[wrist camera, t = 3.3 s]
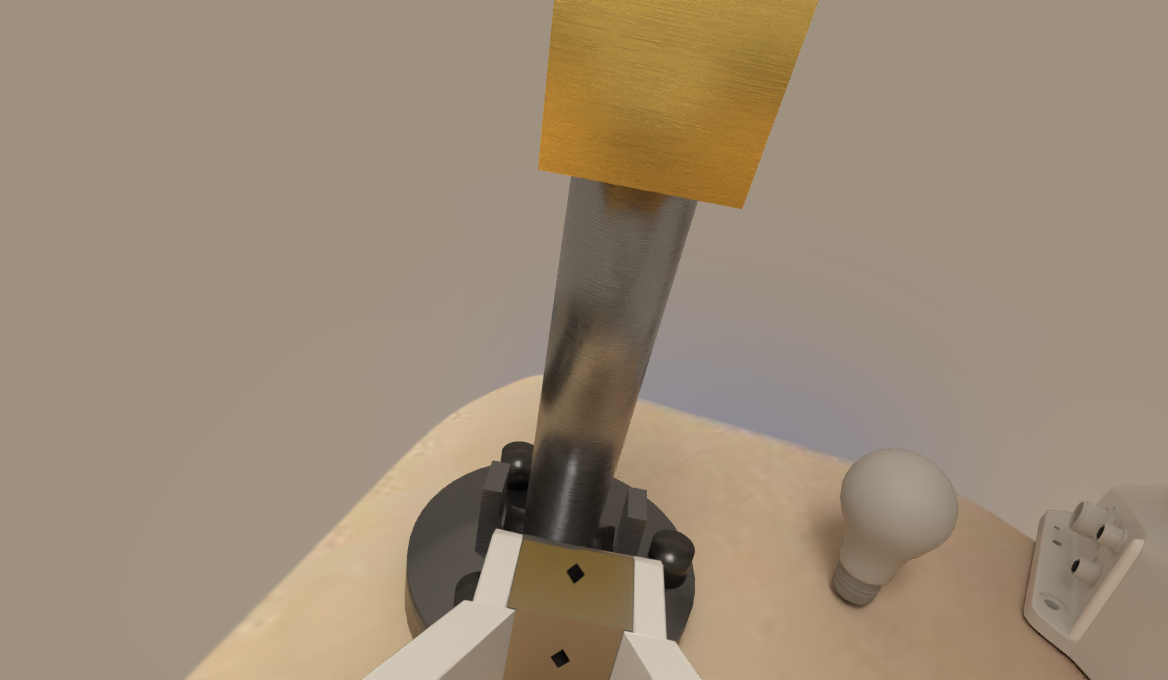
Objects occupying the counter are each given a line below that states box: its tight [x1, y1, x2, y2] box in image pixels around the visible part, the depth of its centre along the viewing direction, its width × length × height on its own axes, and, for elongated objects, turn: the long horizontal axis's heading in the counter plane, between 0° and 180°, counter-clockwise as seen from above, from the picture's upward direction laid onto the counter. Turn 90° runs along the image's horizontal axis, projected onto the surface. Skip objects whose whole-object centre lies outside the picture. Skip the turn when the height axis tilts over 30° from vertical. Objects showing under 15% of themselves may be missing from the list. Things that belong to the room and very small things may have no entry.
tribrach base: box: [405, 442, 695, 646], centre depth 35 cm, size 16×16×7 cm
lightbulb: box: [833, 449, 958, 605], centre depth 38 cm, size 6×6×11 cm
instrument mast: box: [503, 0, 819, 552], centre depth 24 cm, size 8×6×31 cm
